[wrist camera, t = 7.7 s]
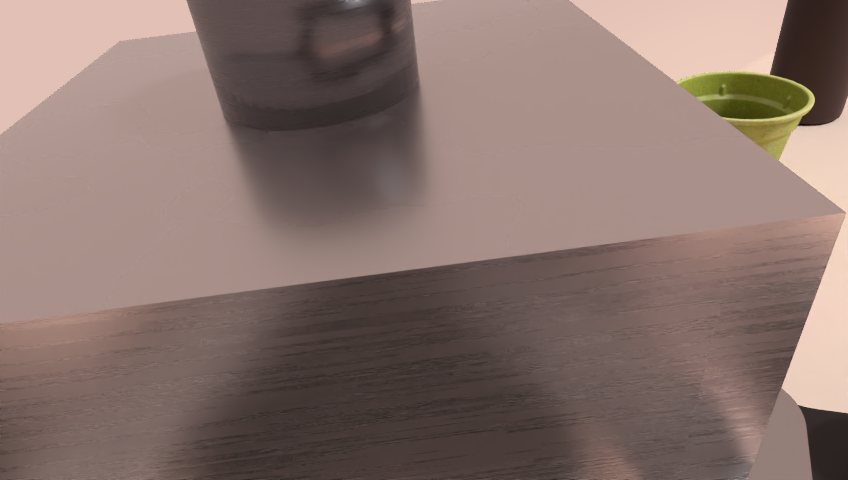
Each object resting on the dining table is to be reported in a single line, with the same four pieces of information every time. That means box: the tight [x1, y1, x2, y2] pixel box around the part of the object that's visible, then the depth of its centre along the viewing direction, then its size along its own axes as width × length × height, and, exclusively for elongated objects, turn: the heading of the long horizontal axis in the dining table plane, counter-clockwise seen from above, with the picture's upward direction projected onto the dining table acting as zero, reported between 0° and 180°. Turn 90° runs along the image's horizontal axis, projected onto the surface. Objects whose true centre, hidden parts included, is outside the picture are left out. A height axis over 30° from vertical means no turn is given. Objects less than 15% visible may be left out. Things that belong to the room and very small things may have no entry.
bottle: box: [770, 0, 848, 125], centre depth 52 cm, size 7×7×20 cm
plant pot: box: [676, 71, 815, 160], centre depth 44 cm, size 9×9×9 cm
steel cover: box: [0, 0, 846, 480], centre depth 9 cm, size 6×6×12 cm
